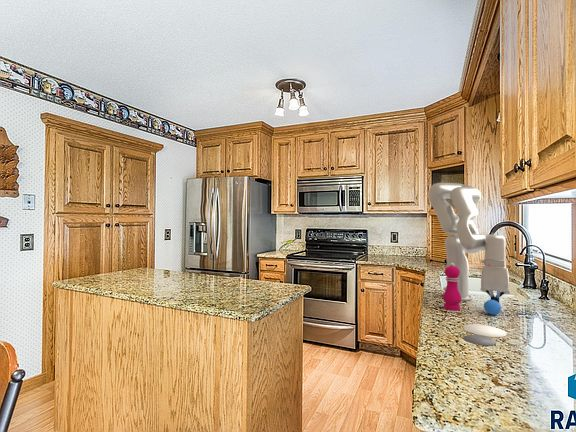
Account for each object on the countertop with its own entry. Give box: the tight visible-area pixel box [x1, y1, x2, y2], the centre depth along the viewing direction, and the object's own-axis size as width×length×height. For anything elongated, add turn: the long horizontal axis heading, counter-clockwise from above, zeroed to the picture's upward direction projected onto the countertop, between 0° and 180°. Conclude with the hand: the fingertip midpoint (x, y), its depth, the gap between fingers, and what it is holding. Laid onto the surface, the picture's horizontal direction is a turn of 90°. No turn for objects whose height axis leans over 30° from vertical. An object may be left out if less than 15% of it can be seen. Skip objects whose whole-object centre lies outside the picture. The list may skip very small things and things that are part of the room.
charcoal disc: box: [463, 334, 497, 347], centre depth 104 cm, size 9×9×1 cm
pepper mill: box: [442, 263, 462, 312], centre depth 142 cm, size 7×7×20 cm
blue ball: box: [483, 299, 502, 316], centre depth 133 cm, size 6×6×6 cm
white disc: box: [462, 323, 508, 338], centre depth 113 cm, size 13×13×1 cm
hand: (494, 306), depth 141 cm, fingers closed
